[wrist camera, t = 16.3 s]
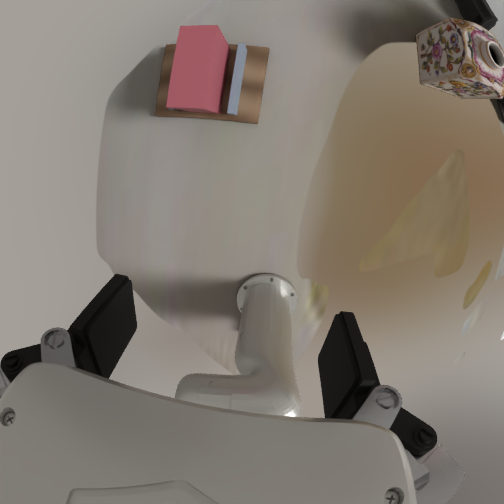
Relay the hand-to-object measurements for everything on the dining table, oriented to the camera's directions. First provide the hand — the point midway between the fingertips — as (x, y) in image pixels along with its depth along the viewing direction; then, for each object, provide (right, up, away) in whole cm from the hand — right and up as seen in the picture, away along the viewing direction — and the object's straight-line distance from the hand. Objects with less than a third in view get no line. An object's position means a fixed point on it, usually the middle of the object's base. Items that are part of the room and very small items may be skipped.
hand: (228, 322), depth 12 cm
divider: (-1, +31, +26) cm, 41 cm away
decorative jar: (+38, +39, +21) cm, 58 cm away
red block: (-6, +31, +26) cm, 41 cm away
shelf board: (-6, +32, +28) cm, 43 cm away
